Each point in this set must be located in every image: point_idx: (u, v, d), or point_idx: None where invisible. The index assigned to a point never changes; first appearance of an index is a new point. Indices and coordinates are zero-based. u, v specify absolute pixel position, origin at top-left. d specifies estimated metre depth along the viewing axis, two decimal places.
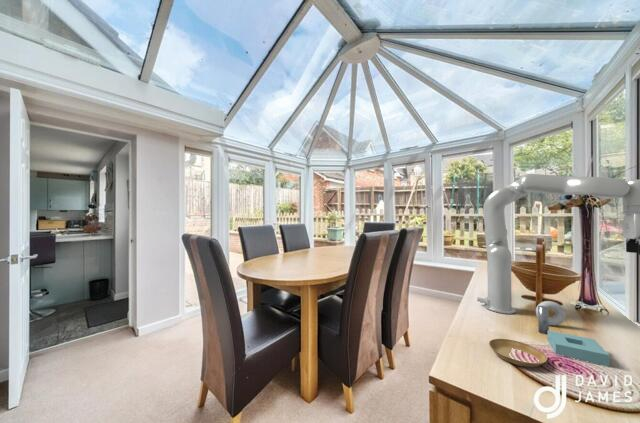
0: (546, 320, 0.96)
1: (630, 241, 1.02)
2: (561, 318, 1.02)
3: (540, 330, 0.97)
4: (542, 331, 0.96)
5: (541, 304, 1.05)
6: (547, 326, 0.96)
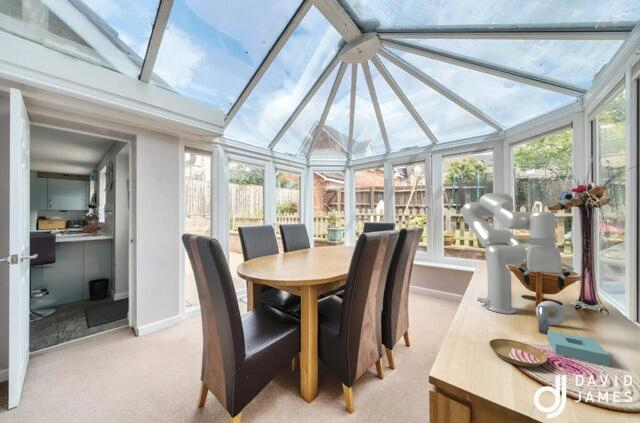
0: (546, 320, 0.96)
1: (527, 273, 1.00)
2: (561, 318, 1.02)
3: (540, 330, 0.97)
4: (542, 331, 0.96)
5: (541, 304, 1.05)
6: (547, 326, 0.96)
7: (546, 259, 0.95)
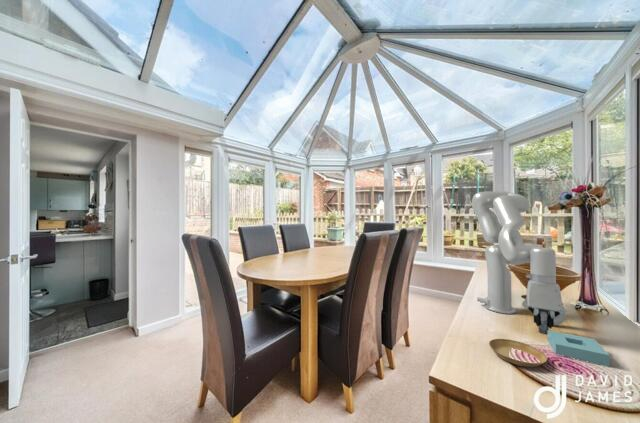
0: (546, 320, 0.96)
1: None
2: (561, 318, 1.02)
3: (540, 330, 0.97)
4: (542, 331, 0.96)
5: None
6: (547, 326, 0.96)
7: (546, 296, 0.95)
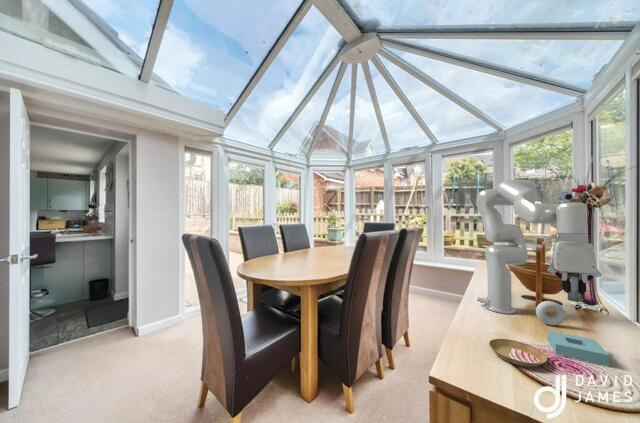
0: (577, 285, 0.83)
1: None
2: (561, 318, 1.02)
3: (570, 297, 0.84)
4: (572, 298, 0.83)
5: (541, 304, 1.05)
6: (578, 292, 0.82)
7: (577, 257, 0.82)
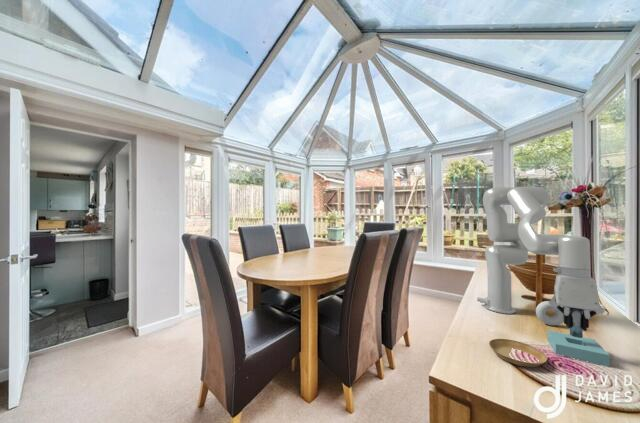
0: (580, 321, 0.82)
1: None
2: (561, 318, 1.02)
3: (572, 333, 0.83)
4: (575, 334, 0.82)
5: (541, 304, 1.05)
6: (581, 328, 0.82)
7: (580, 293, 0.81)
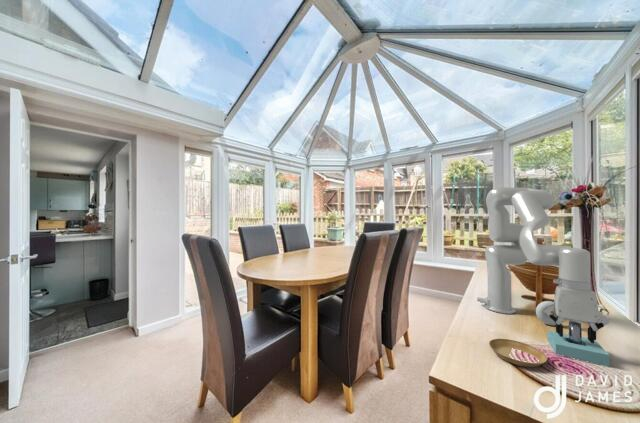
0: (579, 338, 0.82)
1: None
2: None
3: None
4: None
5: (541, 304, 1.05)
6: None
7: (579, 305, 0.81)
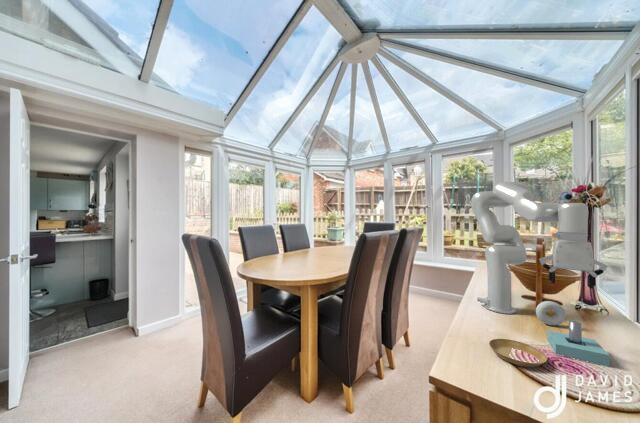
0: (579, 338, 0.82)
1: None
2: (561, 318, 1.02)
3: None
4: None
5: (541, 304, 1.05)
6: None
7: (576, 255, 0.86)
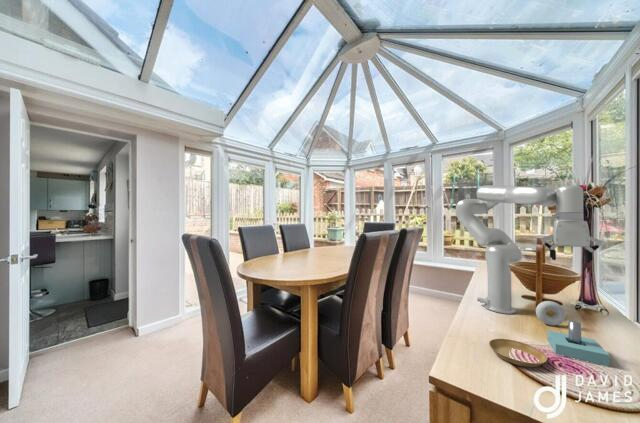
0: (579, 338, 0.82)
1: None
2: (561, 318, 1.02)
3: None
4: None
5: (541, 304, 1.05)
6: None
7: (574, 233, 0.95)
